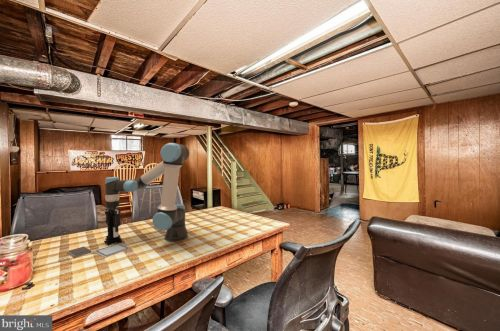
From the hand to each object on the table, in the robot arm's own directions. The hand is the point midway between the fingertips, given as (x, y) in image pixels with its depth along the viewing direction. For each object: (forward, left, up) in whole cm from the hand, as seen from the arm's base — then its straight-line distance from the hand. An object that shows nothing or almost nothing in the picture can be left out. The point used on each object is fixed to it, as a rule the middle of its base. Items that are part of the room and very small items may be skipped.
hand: (113, 235), depth 134 cm
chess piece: (0, 0, -4) cm, 4 cm away
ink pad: (+18, +1, -4) cm, 19 cm away
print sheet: (+6, +13, -4) cm, 15 cm away
